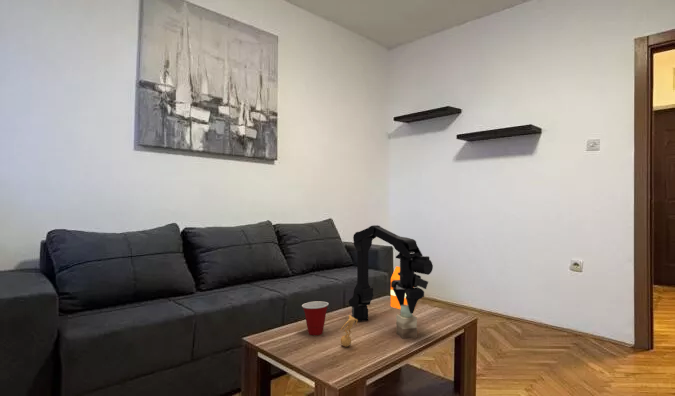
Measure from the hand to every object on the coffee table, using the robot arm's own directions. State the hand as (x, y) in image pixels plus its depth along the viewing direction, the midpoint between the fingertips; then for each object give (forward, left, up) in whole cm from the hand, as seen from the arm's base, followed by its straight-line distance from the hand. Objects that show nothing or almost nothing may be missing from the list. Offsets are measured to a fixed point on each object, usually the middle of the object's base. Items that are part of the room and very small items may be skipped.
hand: (406, 309), depth 153 cm
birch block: (0, 0, -6) cm, 6 cm away
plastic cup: (-35, +11, -10) cm, 38 cm away
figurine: (-26, -6, -10) cm, 29 cm away
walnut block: (0, 0, -10) cm, 10 cm away
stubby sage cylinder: (0, 0, -2) cm, 2 cm away
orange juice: (+15, +38, -10) cm, 42 cm away
